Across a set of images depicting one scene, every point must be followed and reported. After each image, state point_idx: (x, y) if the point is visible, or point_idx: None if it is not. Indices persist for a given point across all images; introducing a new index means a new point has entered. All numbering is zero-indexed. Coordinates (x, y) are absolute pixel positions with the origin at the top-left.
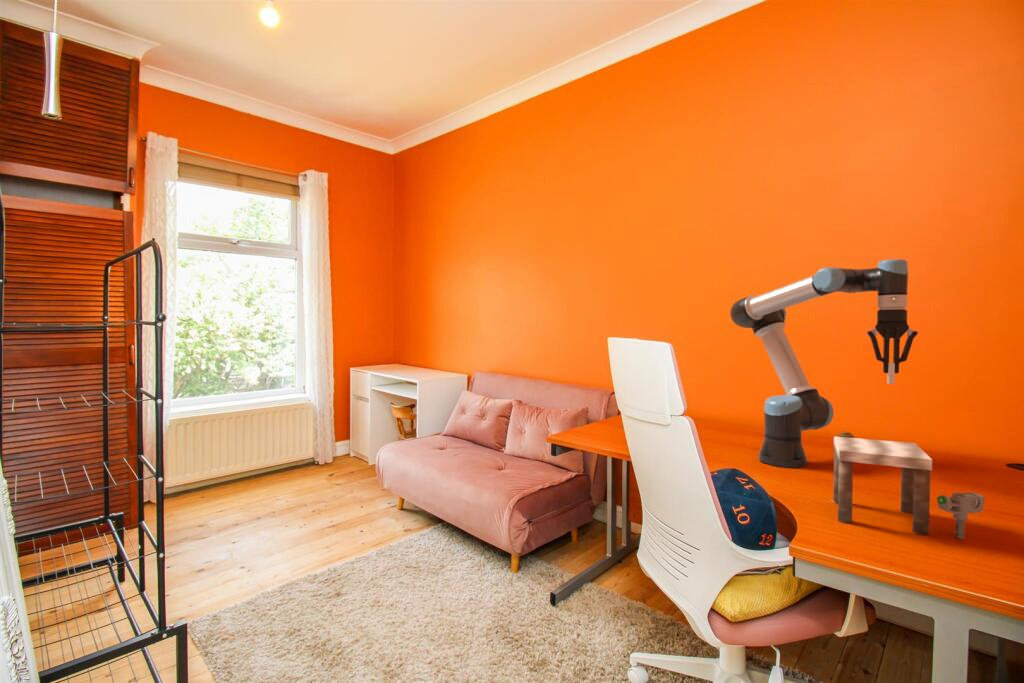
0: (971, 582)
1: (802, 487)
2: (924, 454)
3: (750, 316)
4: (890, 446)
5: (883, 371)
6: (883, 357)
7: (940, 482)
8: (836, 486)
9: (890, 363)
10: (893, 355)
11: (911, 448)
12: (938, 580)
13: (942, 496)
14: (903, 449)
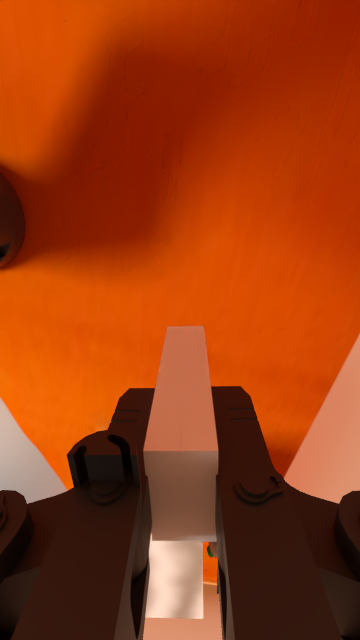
0: (208, 569)
1: (51, 390)
2: (199, 598)
3: None
4: (154, 571)
5: (122, 400)
6: (54, 573)
7: (286, 230)
8: None
9: (169, 538)
10: (231, 633)
11: (187, 571)
12: None
13: (212, 555)
14: (173, 582)
